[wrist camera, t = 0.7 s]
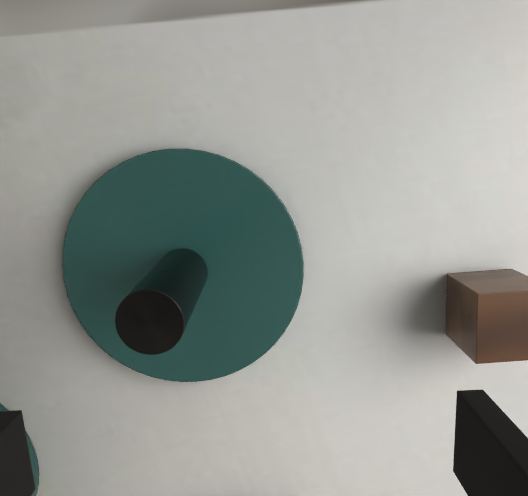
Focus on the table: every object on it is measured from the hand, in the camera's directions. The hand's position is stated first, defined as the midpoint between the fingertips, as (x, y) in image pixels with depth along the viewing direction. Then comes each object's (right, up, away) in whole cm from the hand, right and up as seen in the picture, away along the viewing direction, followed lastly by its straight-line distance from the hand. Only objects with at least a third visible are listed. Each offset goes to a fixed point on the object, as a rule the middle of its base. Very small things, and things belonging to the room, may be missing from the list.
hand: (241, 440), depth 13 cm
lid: (-5, +4, +16) cm, 17 cm away
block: (+16, +2, +17) cm, 24 cm away
